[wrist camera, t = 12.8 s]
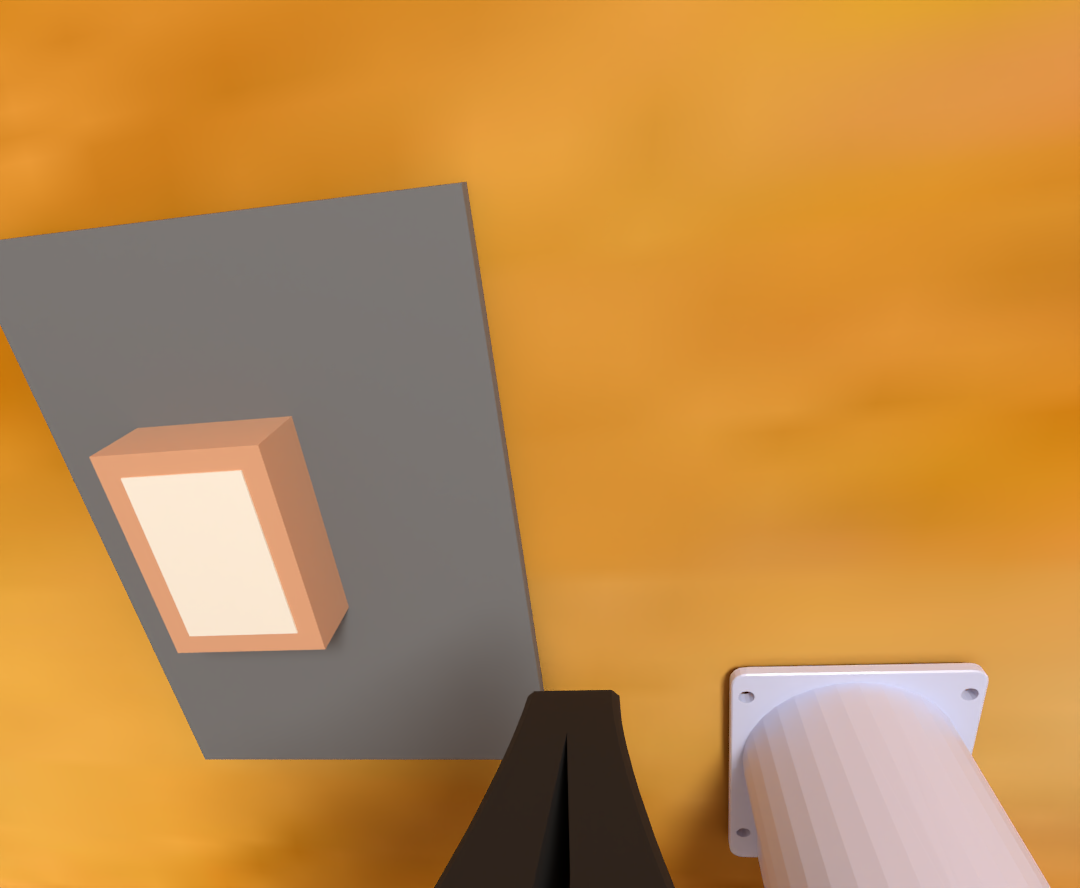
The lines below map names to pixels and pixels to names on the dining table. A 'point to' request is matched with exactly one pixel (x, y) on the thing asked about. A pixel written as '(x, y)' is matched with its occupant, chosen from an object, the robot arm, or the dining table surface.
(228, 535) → the tile
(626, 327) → the dining table surface
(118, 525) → the mat
